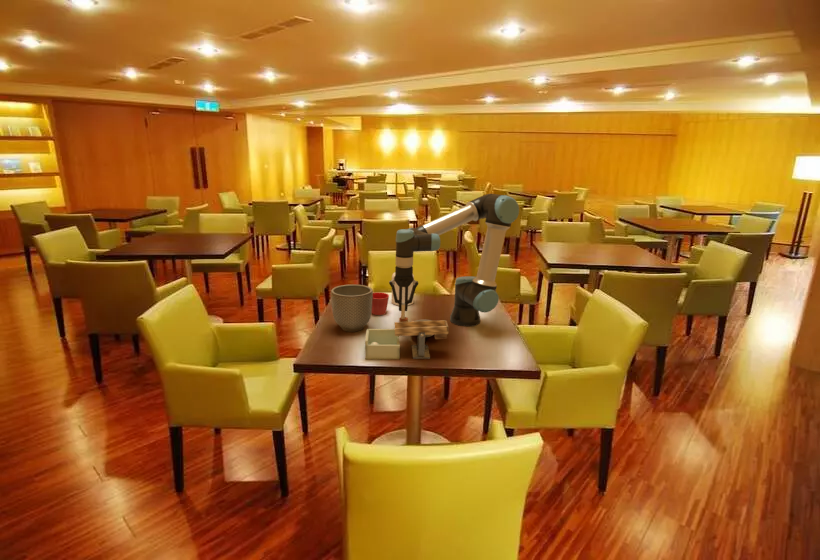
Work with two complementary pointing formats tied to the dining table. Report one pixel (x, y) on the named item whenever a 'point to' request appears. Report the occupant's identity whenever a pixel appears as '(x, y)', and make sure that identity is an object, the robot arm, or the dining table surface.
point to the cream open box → (382, 344)
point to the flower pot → (379, 303)
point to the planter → (352, 306)
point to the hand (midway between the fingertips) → (402, 317)
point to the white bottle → (402, 292)
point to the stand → (420, 348)
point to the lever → (422, 328)
